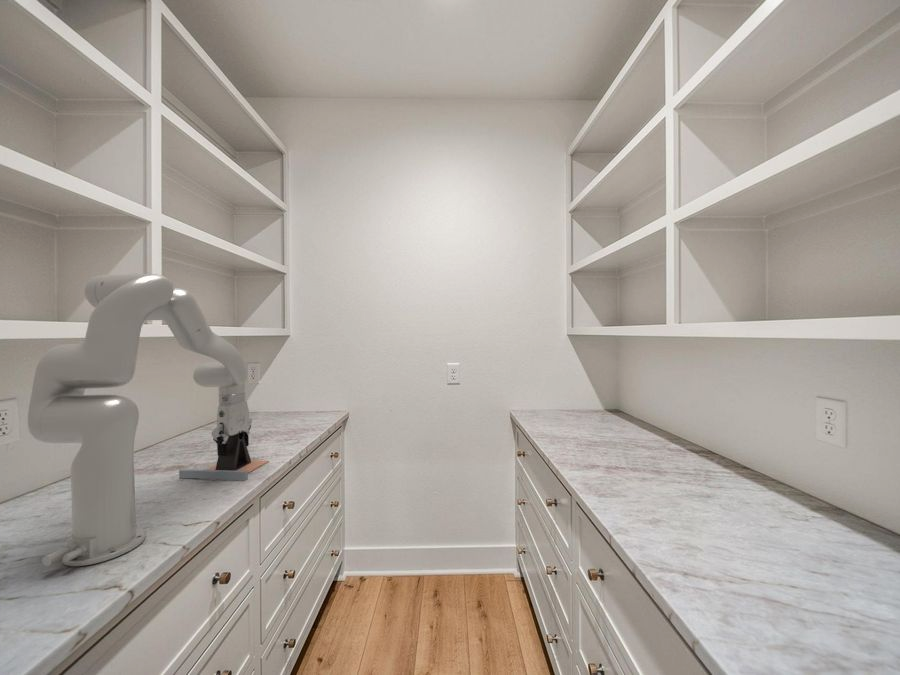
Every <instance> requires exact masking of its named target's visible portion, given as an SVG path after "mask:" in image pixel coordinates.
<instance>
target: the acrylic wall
mask: <svg viewBox="0 0 900 675" xmlns="http://www.w3.org/2000/svg"><path fill="white" fill-rule="evenodd" d="M248 474H249V473H248V471H231V470H205V469H197V468H196V469H195V468H194V469H193V468H182V469H179V470H178V478H199V479H198V480H208V479H218V480H217V481H236V480H240V482H244V481H247V480H249V475H248ZM219 479H220V480H219Z"/></svg>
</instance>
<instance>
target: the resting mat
mask: <svg viewBox="0 0 900 675" xmlns="http://www.w3.org/2000/svg"><path fill="white" fill-rule="evenodd" d="M269 462H270V461H269V460H257V459H256V460H255V459H253V460H252V459H251V463H249V464H248V465H246V466H244V467H242V468H240V469H238V470H236V471H248V474H251V473H252V472H254V471H255V470H257V469H259V468H261V467H263V466H265V465H266V464H268V463H269ZM216 465H217V463H216V464H214V465H212V466H210V467H208V468H205V469H204V470H215V469H216Z"/></svg>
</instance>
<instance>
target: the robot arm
mask: <svg viewBox="0 0 900 675" xmlns="http://www.w3.org/2000/svg"><path fill="white" fill-rule="evenodd" d="M84 295H85V298H86V300H87V302H88V303H89V304H90V305H91V306H92V307H94V309H93V311H92V312H91V314H90V316H89V319H88V324H87V329H86V332H85V337H84V341H83V342H82V343H64V344H60V345H56V346H55V347H53V348H50V349H49V350H48V351H46V352H44V354H43V355H42V356H41V358H40V359H39V360H38V363H37V364H36V368H35V372H34V376H33V382H32V386H31V387H32V389H31V393H30V394H31V395H30V400H29V404H28V413H27V427H28V431H29V433H30V435H31V436H32V437H33V438H34V439H35V440H37V441H39V442H42V443H46V444H73V443H74V444H77V443H78V444H81V447H80V448H79V450H78V452H77V453H76V455H75V457H74V458H73V460H72V463H71V466H70V490H71V492H70V497H71V498H70V499H71V520H72V521H71V522H72V523H71V525H72V535H71V536H69V537H67V538H66V539H65V541H66V542H65V544H64V545H63V546H62V547H61V548H60V549H58V550H56V551H55V550H54V551H53V552H51V553H49V554H47V555H45V556H44V557H42V561H41V562H42V565H43V566H44V567H50V566H52V565H54V564H56V563H58V562H59V561H61V562H62V564H64V565H65V566H69V567H84V566H85V567H86V566H89V565H90V566H91V565H95V564H98V563H103V562H107V561H109V560H111V559H115V558H117V557H120V556H121V555H125V554H126V553H128V552H130V551H132V550H134V549H135V548H136V547H139V545H141V544H142V543H143V542H144V541H145V539H146V535H147V533H146V530H145V529H144V528H143V527H138V526H137V515H136V486H135V485H136V482H135V438H136V433H137V429H138V423H139V417H140V412H139V407H138V406H137V404H136V403H135V402H134V401H133V400H132V399H130V398H128V397H126V396H123V395H117V394H85V390H86V389H89V390H90V389H109V388H110V389H112V388H113V389H114V388H119V387H122V386H123V387H124V386H125V385H127V384H129V383H130V382H131V381H132V379H133V377H134V375H135V372H136V365H137V361H138V360H137V359H138V352H139V351H138V350H139V344H140V343H139V342H140V338H141V337H140V335H141V332H142V327H143V324H144V323H145V321H164V323H165V324H166V325H167V327H168V328H169V330H170V331H171V333H172V335H173V337H174V339H175V340H176V342H177V344H178V345H179V346H180V347H181V348H183V349H184V350H185V349H186V350H188V351H190V352H192V353H196V354H199V355H202V356H206V357H209V358H211V359H213V360H216V361H218V362H205V363H202V364H199V365H198V366H197V367H196V368H195V369H194V371H193V380H194V382H195V383H196V384H197V385H198V386H200V387H204V388H218V406H217V413H216V415H217V416H216V427H215V428H214V429H213V430H212V431H211V432H210V433H211V434H210V435H211V436H212V439H213V441H214V443H215V444H216V446H217V447H216V450H217V451H216V452H217V456H227V455H228V443H226V441H227V439H228V437H229V436H234V435H236V434H238V433H239V431H240V433H241V432H242V431H244V439H245V443H246V446H247V447H249V444H250V442H249V434H250V432H251V431H250V430H251V427H252V422H253V419H252V418H250V410H249V405H248V402H247V400H246V381H247V379H248V368H247V365H246V363H245V360H244V358H243V356H242V354H241V352H240V351H239V350H238V349H237V348H236V347H235V346H234V345H233V344H231V343H230V342H229V341H227V340H226V339H225V338H223V337H222V336H220V335H218V334H216V333H214V332H213V331H212V329H211V327H210V325H209V323H208V321H207V319H206V317H205V316H204V314H203V312H202V310H201V308H200V306H199V304H198V302H197V300H196V298H195V297H194V295H193V294H192V293H191V292H190V291H189V290H186V289H183V288H179V287H174V284H173V282H172V280H171V279H169V278H168V277H166V276H164V275H162V274H159V273H158V274H156V273H130V274H129V273H128V274H102V275H96V276H95V277H92V278H91V279H89V281H88V282H87V283H86V284H85V286H84ZM84 394H85V395H84ZM222 437H224V438H223V439H222Z"/></svg>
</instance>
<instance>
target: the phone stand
mask: <svg viewBox="0 0 900 675" xmlns="http://www.w3.org/2000/svg"><path fill="white" fill-rule="evenodd" d="M223 438H224V437H222V439H223ZM226 443H228V455H227V456H218V455H217V456H218V457H217V461H216V464H217V465H216V464H215V465H216V469H215V470H231V471H236V470H238V469H240V468H242V467H244V466H246V465H248V464H249V463H251V460H252V459H251V456H250V453H249V450H248V446H246V443H245V439H244V431H242V432H241V433H240V431H239V433H238V434H236V435H234V436H229V437H228V439H227V441H226Z"/></svg>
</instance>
